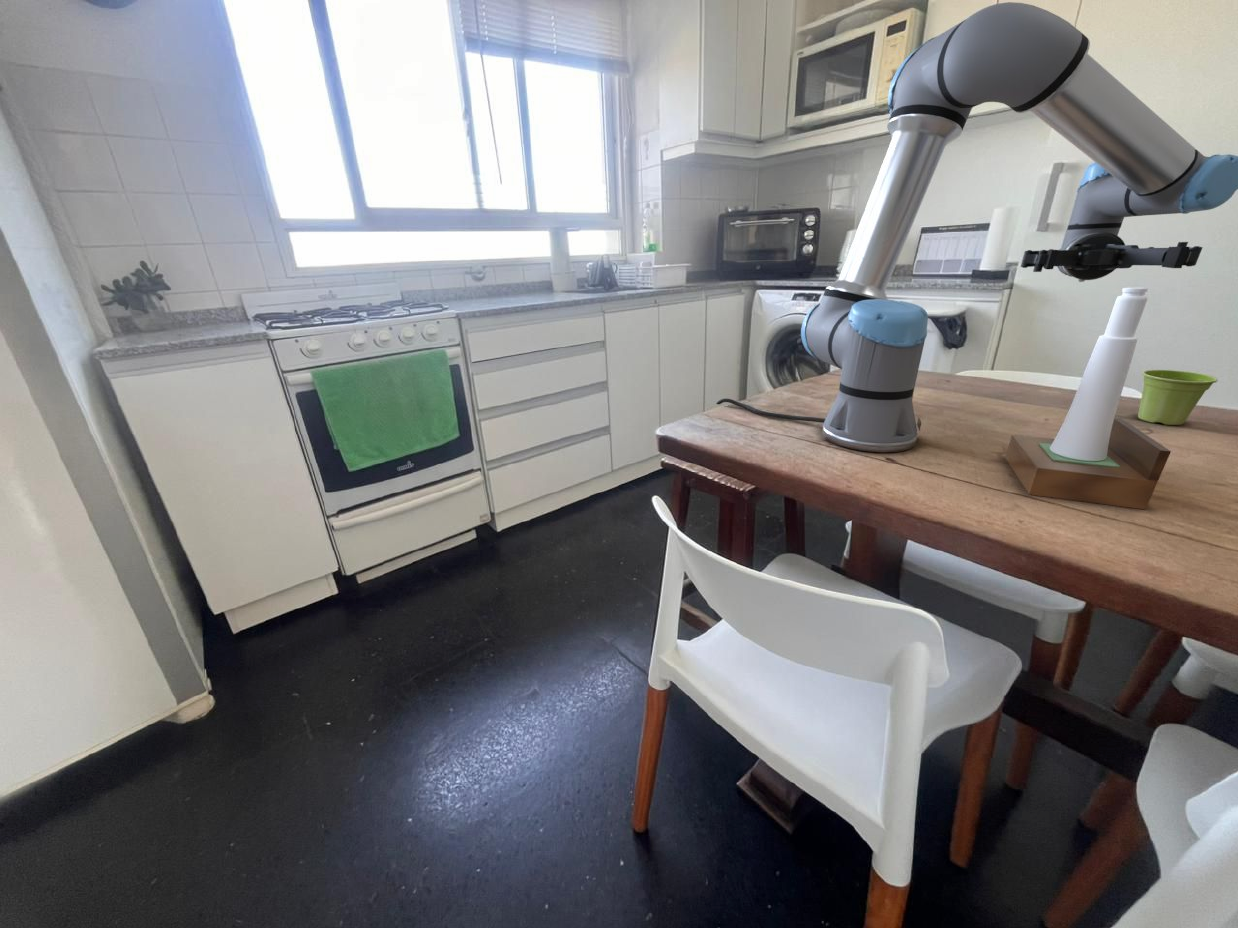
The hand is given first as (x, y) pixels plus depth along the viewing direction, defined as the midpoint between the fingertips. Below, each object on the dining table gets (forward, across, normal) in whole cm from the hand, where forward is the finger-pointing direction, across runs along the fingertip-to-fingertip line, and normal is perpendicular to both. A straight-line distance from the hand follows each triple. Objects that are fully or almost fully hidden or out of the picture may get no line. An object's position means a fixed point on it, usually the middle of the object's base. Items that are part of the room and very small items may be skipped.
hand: (1113, 258), depth 71 cm
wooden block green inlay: (+14, -1, -29) cm, 33 cm away
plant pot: (-27, -18, -29) cm, 44 cm away
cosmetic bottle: (+14, -1, -25) cm, 29 cm away
